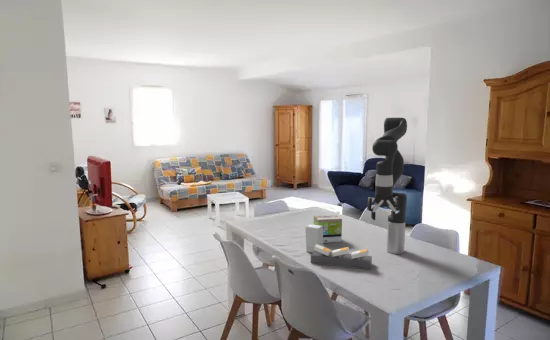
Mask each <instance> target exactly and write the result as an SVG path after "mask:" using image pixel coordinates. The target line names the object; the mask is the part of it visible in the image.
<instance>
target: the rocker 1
mask: <svg viewBox="0 0 550 340" xmlns="http://www.w3.org/2000/svg"><path fill="white" fill-rule="evenodd" d="M314 250H315V251H318V252H320V253H322V254H325V255H327V256H328V255H329V254H330V252H332V249H330V248H327V247H325V246H324V245H323V246H320V245H318V244H316V245H315V247H314Z"/></svg>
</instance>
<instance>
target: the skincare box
mask: <svg viewBox="0 0 550 340" xmlns="http://www.w3.org/2000/svg"><path fill="white" fill-rule="evenodd" d="M304 228H305V244H306V245H305V247H306V248H305V249H306V250H305V252H307V253H311V254H312V253H313V251H314V247H315V245H316V244H318V245H320V246H323V247H324V243H323V226H320V225H314V224H308V225H306V226H305V227H304Z"/></svg>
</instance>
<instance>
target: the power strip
mask: <svg viewBox="0 0 550 340" xmlns="http://www.w3.org/2000/svg"><path fill="white" fill-rule="evenodd" d="M332 252H333V251H330V254H329V255H328V256H327V255H325V254H322V253H320V252H318V251H315V250H314V251H313V253H311V254H310V263H311V264H320V265H327V266H337V267H345V268H352V269H354V268H355V269H362V270H371V268H372V263H373V256H372V255H368V256H363V257H358V258H353V259H352V257H351V253H348V254H343V255H338V256H333V255H332Z"/></svg>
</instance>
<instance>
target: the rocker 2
mask: <svg viewBox="0 0 550 340" xmlns="http://www.w3.org/2000/svg"><path fill="white" fill-rule="evenodd" d="M331 252H332V255H333V256H338V255H343V254H350V248H349V246H347V247H341V248H338V249H334V250H332V251H331Z"/></svg>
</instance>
